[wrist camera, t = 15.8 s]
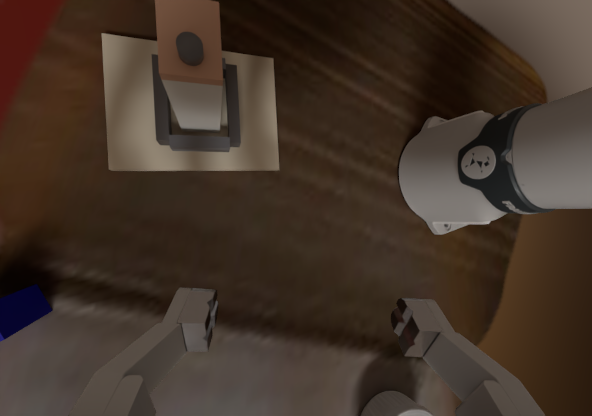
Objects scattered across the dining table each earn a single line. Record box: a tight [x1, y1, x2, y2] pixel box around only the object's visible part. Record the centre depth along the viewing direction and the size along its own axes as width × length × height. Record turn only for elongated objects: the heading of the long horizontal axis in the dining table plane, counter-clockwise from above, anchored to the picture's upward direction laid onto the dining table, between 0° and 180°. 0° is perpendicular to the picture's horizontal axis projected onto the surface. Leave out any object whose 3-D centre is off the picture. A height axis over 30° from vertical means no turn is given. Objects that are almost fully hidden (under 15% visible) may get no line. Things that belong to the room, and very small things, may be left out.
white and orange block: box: [155, 0, 223, 133], centre depth 22 cm, size 4×6×13 cm
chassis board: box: [102, 33, 279, 171], centre depth 27 cm, size 18×14×3 cm
